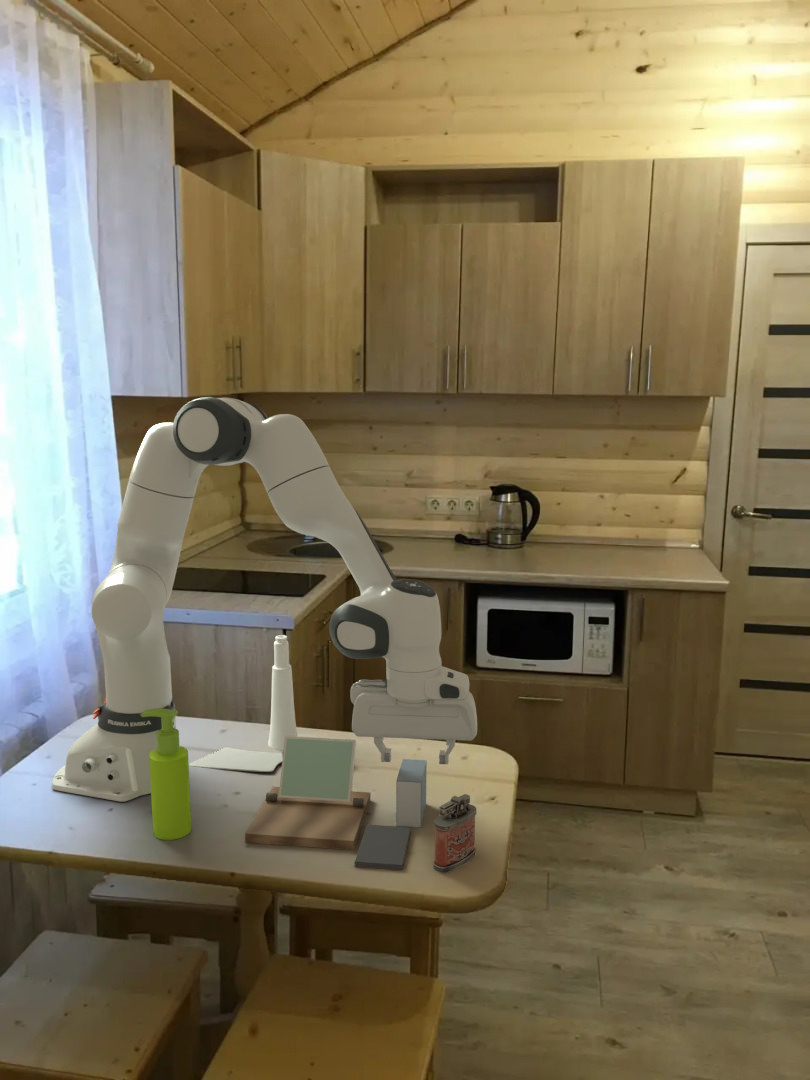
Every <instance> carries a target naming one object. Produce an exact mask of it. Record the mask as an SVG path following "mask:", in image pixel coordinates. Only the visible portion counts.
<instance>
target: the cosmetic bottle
mask: <svg viewBox="0 0 810 1080" xmlns="http://www.w3.org/2000/svg"><path fill="white" fill-rule="evenodd" d="M274 638H275V640H274V642H273V651H274V652H273V655H274V657H273V658H274V664H273V665H272V666H271V669H272V670H271V703H270V707H271V708H270V727H269V736H268V742H267V745H268V746H267V747H269V748H271V749H273V750H279V751H280V750H281V751H283V750H284V741H285V736H294V737H299V736H298V730H297V723H296V711H295V702H294V701H295V699H294V698H295V697H294V687H293V686H294V684H293V682H294V681H293V670H292V664H290V650H289V649H290V647H289V641H288V636H287V635H285V634H280V635H276V636H275V637H274Z"/></svg>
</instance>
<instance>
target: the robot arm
mask: <svg viewBox="0 0 810 1080" xmlns="http://www.w3.org/2000/svg"><path fill="white" fill-rule="evenodd" d="M241 464H249V465H250V466H252V467H253V468H254V470H255V471H256V472H257V473H258V476H259V477H260V479H261V482H262V484H263V486H264V489H265V491H266V493H267V496H268V498H269V501H270V502H271V505H272V507H273V509H274V511H275V512H276V515H277V516H278V517H279V518H280V520H281V521H282V523H283V524H284V525H285V526H286V527H287V528H288V529H290V530H291V531H294V532H295V533H298V534H300V535H304V536H310V537H313V538H317V539H319V540H322V541H324V542H326V543H328V544H330V545H331V546H332V547H333V548H335V550H337V552H338V553H339V555H340V556H341V558H342V560H343V562H344V563H345V565H346V566H347V569H348V570H349V572H350V575H352V577H353V579H354V581H355V583H356V585H357V586H358V588H359V591H360V595H359V596H356V597H354V598H352V599H349V600H348V601H346V602H344V603H343V604H341V605H340V606H339V607H336V609H335V610H334V611H333V612H332V614H331V616H330V619H329V624H328V625H329V626H328V627H329V635H330V638H331V641H332V643H333V645H334V646H335V648H336V649H337V651H339V652H340V653H341V654H342V655H343V656H345V657H347V658H349V659H354V660H365V659H367V660H368V659H370V660H371V659H377V658H382V659H385V661H386V664H385V665H386V667H385V670H386V679H373V680H372V679H365V678H364V679H359V680H358V681H356V682H354V683H353V684H351V687H350V689H349V690H350V691H349V692H350V696H349V697H350V702H351V703H352V704H353V709H352V719H351V720H352V721H351V731H352V733H353V734H354V735H355V736H356V737H362V738H363V737H364V738H373V743H374V745H375V747H376V748H377V749H378V751H379V752H380V760H381V761H380V762H381V763H391V760H392V748H388V747H386V745H385V743H384V739H385V738H386V739H387V738H389V739H390V738H391V739H415V740H416V739H419V740H445V745H446V747H445V748H444V749H445V750H442V749H439V754H438V764H439V765H449V762H450V760H449V759H450V757H449V755H450V754H451V752H452V751H453V749H454V747H455V745H456V741H473V740H474V739H475V737H476V736H477V734H478V716H477V707H476V702H475V699H474V696H473V693H472V692H470V678H469V676H468V674H465V673H463V672H460V671H457V670H454V669H451V668H448V667H446V666H443V665H442V657H441V654H440V644H441V641H442V617H441V616H442V615H441V607H440V602H439V597H438V594H437V591H436V589H434V588H433V587H432V586H431V585H429V584H428V583H426V582H424V581H422V580H419V579H412V578H399V579H398V578H397V577H396V575H395V574H394V573H393V571H392V569H391V568H390V566H389V565H388V563H387V561H386V559H385V557H384V555H383V553H382V552H381V550H380V548H379V546H378V545H377V543H376V541H375V539H374V537H373V536H372V533H371V532H370V530H369V529H368V526H367V525H366V523H365V521H364V520H363V519H362V517H361V516H360V514H359V513H358V511H357V510H356V509H355V507H354V505H352V503H351V502H350V501H349V499H348V498H347V496H346V495H345V493H344V492H343V490H342V488H341V487H340V485H339V483H338V480H337V479H336V477H335V475H334V473H333V470H332V469H331V466H330V464H329V462H328V460H327V458H326V456H325V454H324V451H323V450H322V448H321V446H320V444H319V443H318V442H317V439H316V437H315V436H314V435H313V433H312V432H311V430H310V429H309V428H308V426H307V425H306V424H305V422H304V420H302V419H301V418H300V417H298V416H297V415H294V414H290V413H284V414H283V413H282V414H281V413H280V414H279V413H278V414H275V415H272V416H269V417H268V416H267V414H266V413H265V412H264V411H263V410H262V409H261V408H260V407H258V406H257V405H255V404H254V403H251V402H249V401H245V400H244V401H242V400H241V399H236V398H232V397H213V396H204V397H199V398H195V399H192V400H191V401H188V402H186V404H184V405H183V406H182V407H181V408H180V409H179V410H178V412H177V413H176V415H175V417H174V420H173V422H161V423H158V424H157V423H156V424H155V425H153V426H151V427H150V428H149V429H148V431H147V432H146V434H145V436H144V438H143V440H142V442H141V444H140V446H139V449H138V451H137V454H136V456H135V458H134V461H133V465H132V468H131V471H130V474H129V478H128V482H127V486H126V491H125V494H124V498H123V502H122V504H121V510H120V513H119V517H118V522H117V533H116V541H115V547H114V553H113V557H112V563H111V567H110V569H109V572H108V574H107V575H106V576H105V578H104V579H102V581H101V582H100V583H99V584H98V586H97V587H96V589H95V591H94V594H93V597H92V603H91V618H92V620H93V623H94V625H95V628H96V634H97V638H98V639H97V640H98V642H99V643H98V644H99V647H100V653H101V655H102V662H103V669H104V670H103V671H104V685H105V686H104V687H105V698H104V700H103V703H102V704H99V706H97V709H96V710H94V712H92V715H93V717H92V719H93V720H95V719H97V720H98V721H97V723H96V724H94V725H93V726H92V727H90V729H88V730H87V731H86V732H84V733H83V734H82V735H81V736H80V737H78V738H77V739H76V740H75V741H73V743H72V744H71V746H70V747H69V750H68V752H67V753H66V757H65V764H64V765H63V766H62V767H60V768H59V770H58V771H57V772H56V773H55V774H54V776H53V778H52V781H51V787H52V790H54V791H59V792H65V793H70V794H76V795H82V796H86V797H93V798H98V799H103V800H104V799H105V800H110V801H114V802H122V803H123V802H127V801H131V800H133V799H135V798H138V797H141V796H144V795H149V794H150V795H151V782H150V763H149V754H150V753H151V752H152V751H153V750H155V749H157V736H156V734H157V732H158V731H159V730H160V729H162V722H161V717H154V716H148V717H142V716H141V715H140V714H142V713H143V712H144V711H145V710H149V709H156V708H162V709H170V710H176V705H175V698H174V696H173V693H172V691H173V690H172V674H171V673H172V672H171V671H172V670H171V669H172V668H171V656H170V653H169V650H168V644H167V639H166V632H165V623H164V612H165V608H166V606H167V604H168V602H169V600H170V598H171V596H172V591H173V587H174V583H175V579H176V574H177V571H178V570H177V569H178V566H179V562H180V556H181V551H182V548H183V547H182V546H183V542H184V537H185V533H186V531H187V526H188V523H189V518H190V516H191V515H190V514H191V511H192V508H193V503H194V501H195V500H194V499H195V496H196V492H197V489H198V485H199V481H200V477H201V476H202V474H203V471H204V470H205V469H206V468H207V467H208V466H212V465H214V466H222V467H223V466H224V467H228V466H233V465H241ZM173 728H175V729H177V715H176V716H175V717H174V718H173Z"/></svg>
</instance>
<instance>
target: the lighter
mask: <svg viewBox="0 0 810 1080" xmlns="http://www.w3.org/2000/svg"><path fill="white" fill-rule="evenodd" d="M470 803H471V796H470V795H469V794H466V793H464V794H461V795H459V796H457V795H453V796H452V797H451V799H450V800H449V801H447V802H445V803H443V804H442V805H440V806H439V807H438V814H439V815H438V816H437V817H435V818H434V820H433V827H434V829H435V830H434V832H435V833H434V836H435V837H434V861H433V870H434V871H435V872H437V873H439V874H446V873H451V872H453V871H455V870H457V869H459V868H462V867H463V866H464V865H466V864H468V863H469V862H470V861H472V859H474V857H475V856H476V847H475V843H476V842H475V835H476V833H475V831H476V829H475V828H476V815H477V807H476V806H474V805H473V804H470Z"/></svg>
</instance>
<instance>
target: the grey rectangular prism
mask: <svg viewBox="0 0 810 1080" xmlns="http://www.w3.org/2000/svg"><path fill="white" fill-rule="evenodd" d="M395 781H396V783H395V784H396V790H395V791H396V792H395V793H396V801H395V802H396V808H395V809H396V811H395V812H396V813H395V814H396V816H395V817H396V824H395V826H398V827H411V829H413V828H414V829H422V825H423V821H424V817H425V812H426V807H427V760H426V759H412V758H411V759H410V758H408V759H407V758H402V760H401V763H400V766H399V771H398V775H397V777H396V780H395Z"/></svg>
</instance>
